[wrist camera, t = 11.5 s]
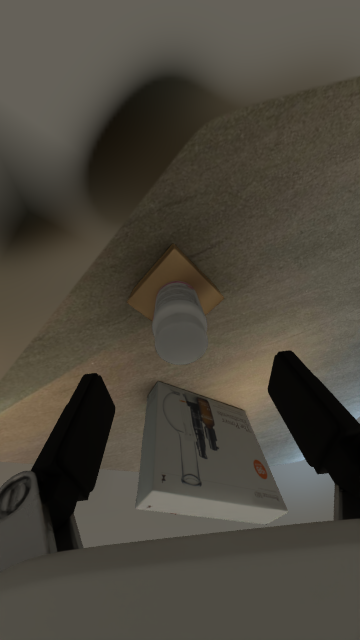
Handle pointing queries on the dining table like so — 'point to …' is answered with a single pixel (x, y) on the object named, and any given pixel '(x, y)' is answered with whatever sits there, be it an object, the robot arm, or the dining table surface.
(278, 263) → the dining table surface
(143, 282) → the block
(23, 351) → the dining table surface
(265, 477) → the skincare box
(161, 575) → the robot arm
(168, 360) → the pill bottle
